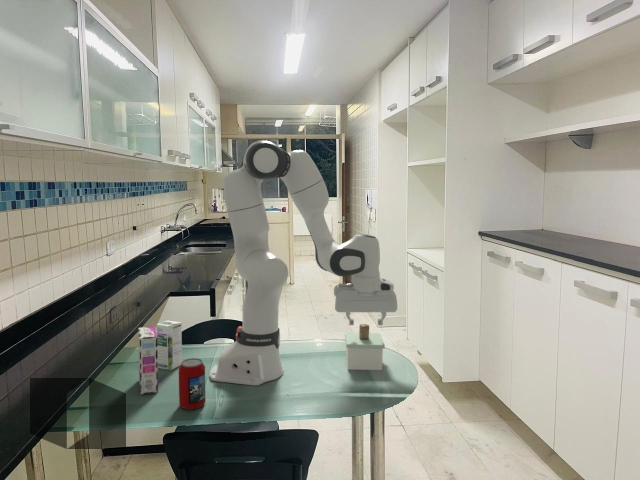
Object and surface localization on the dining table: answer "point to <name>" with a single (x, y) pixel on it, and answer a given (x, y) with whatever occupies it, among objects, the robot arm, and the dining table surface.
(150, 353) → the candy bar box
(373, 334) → the lid
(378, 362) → the tub
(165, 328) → the syrup box
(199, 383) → the beverage can
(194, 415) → the dining table surface
